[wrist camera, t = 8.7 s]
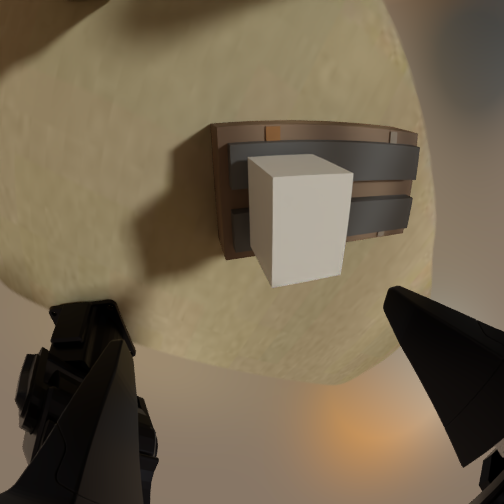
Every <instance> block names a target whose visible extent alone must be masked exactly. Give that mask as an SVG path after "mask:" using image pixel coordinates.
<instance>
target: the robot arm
mask: <svg viewBox="0 0 504 504" xmlns="http://www.w3.org/2000/svg"><path fill="white" fill-rule="evenodd" d="M108 305H111V306H113V307H110V306H108ZM383 309H384V312H385V314H386V316H387V318H388V321H389V323H390V325H391V327H392V329H393V331H394V333H395V335H396V338H397V340H398V342H399V344H400V346H401V347H402V349H403V351H404V353H405V354H406V356H407V358H408V359H409V361H410V363H411V365H412V366H413V368H414V370H415V372H416V374H417V375H418V377H419V379H420V381H421V383H422V385H423V387H424V388H425V390H426V392H427V394H428V396H429V398H430V400H431V402H432V404H433V405H434V407H435V409H436V411H437V414H438V416H439V418H440V419H441V422H442V423H443V426H444V427H445V430H446V432H447V434H448V436H449V439H450V441H451V443H452V445H453V447H454V450H455V452H456V454H457V456H458V459H459V461H460V463H461V465H462V467H463V468H464V467H465V466H467V465H468V464H470V463H471V462H473V461H474V460H476V459H477V458H478V457H480V456H481V455H483V454H484V453H485V452H487V451H488V450H489V449H491V448H492V447H493V446H495V447H496V448H495V449H494V450H493V451H492V452H491V453H490V454H489V455H488V456H487V457H486V458H485V459H484V460H483V465H482V471H481V477H480V482H479V486H480V488H481V490H482V492H481V493H480V494H479V495H478V496H477V497H476V498H475V499H474V500H473V501H471V502H470V503H469V504H504V332H503V331H501V330H499V329H496V328H494V327H492V326H489V325H487V324H485V323H482V322H480V321H478V320H476V319H474V318H472V317H469V316H467V315H465V314H463V313H460V312H458V311H456V310H454V309H451V308H449V307H446V306H445V305H442V304H440V303H438V302H436V301H433V300H431V299H429V298H427V297H424V296H422V295H420V294H417V293H415V292H413V291H411V290H408V289H406V288H404V287H401V286H394V287H391V288H389V289H388V292H387V295H386V298H385V301H384V305H383ZM54 312H55V313H54ZM49 314H50V316H51V318H52V320H53V322H54V324H55V325H56V326H55V329H54V331H53V334H52V337H51V343H52V344H51V348H50V351H48V350H47V349H45V348H43V347H42V349H41V350H40V352H39V354H35V355H34V354H27V355H26V357H25V360H24V363H23V366H22V369H21V372H20V376H19V380H18V385H17V390H16V396H15V402H16V404H17V406H18V408H19V427H20V428H21V429H23V430H25V431H26V432H25V436H24V441H23V452H24V455H25V457H26V460H27V463H28V466H27V468H26V469H25V471H24V472H23V474H22V475H21V476H20V478H19V479H18V481H17V482H16V483H15V484H14V485H13V486H12V487H11V488H10V489H8V490H7V491H5V492H3V493H1V494H0V504H150V489H151V481H152V477H153V474H154V471H155V468H156V466H157V464H158V462H159V459H158V458H157V457H156V456H157V449H158V443H157V437H156V432H155V430H154V428H153V425H152V423H151V420H150V417H149V414H148V411H147V408H146V404H145V401H144V399H143V398H141V397H139V396H137V394H136V385H135V373H134V362H133V356H135V354H136V350H135V347H134V345H133V343H132V341H131V338H130V336H129V334H128V331H127V329H126V326H125V324H124V322H123V319H122V317H121V314H120V312H119V309H118V306H117V304H116V302H115V301H113V300H102V301H94V302H84V303H75V304H67V305H61V306H53V307H51V308H50V310H49Z"/></svg>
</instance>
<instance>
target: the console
mask: <svg viewBox="0 0 504 504" xmlns="http://www.w3.org/2000/svg"><path fill="white" fill-rule="evenodd" d="M211 138H212V154H213V169H214V183H215V197H216V209H217V221H218V233H219V240H220V243H221V246H222V249H223V253H224V256H225V259H226V260H231V259H238V258H244V257H251V256H255V254H254V252H253V250H252V248H251V246H250V216H249V184H248V157H257V156H274V155H297V154H313V155H316V156H318V157H320V158H322V159H324V160H327V161H329V162H331V163H333V164H335V165H337V166H339V167H342V168H344V169H346V170H348V171H350V172H352V173H354V174H353V185H352V195H351V204H350V212H349V220H348V228H347V236H346V242H349V241H356V240H362V239H368V238H375V237H381V236H388V235H394V234H400V233H403V230H404V228H407V225H408V220H409V215H410V210H411V205H412V199H413V198H412V197H410V193H411V187H412V180H416V174H417V167H418V159H419V150H420V147H417V138H418V134H417V133H414V132H410V131H406V130H402V129H398V128H394V127H388V126H380V125H370V124H360V123H347V122H330V121H296V120H279V121H245V122H228V123H215V124H211Z"/></svg>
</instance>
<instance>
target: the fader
mask: <svg viewBox="0 0 504 504" xmlns="http://www.w3.org/2000/svg"><path fill="white" fill-rule="evenodd" d="M353 174H354V173H352V172H350V171H348V170H346V169H344V168H342V167H339V166H337V165H335V164H333V163H331V162H329V161H327V160H324V159H322V158H320V157H318V156H316V155H313V154H297V155H274V156H257V157H248V184H249V216H250V246H251V248H252V250H253V252H254V254H255V256H256V258H257V260H258V262H259V264H260V266H261V268H262V270H263V272H264V274H265V276H266V277H267V279H268V281H269V283H270V285H271V287H272V288H274V287H280V286H285V285H291V284H296V283H301V282H306V281H312V280H317V279H322V278H327V277H332V276H337V275H340V274H341V268H342V262H343V256H344V249H345V243H346V236H347V228H348V220H349V212H350V204H351V195H352V185H353Z"/></svg>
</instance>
